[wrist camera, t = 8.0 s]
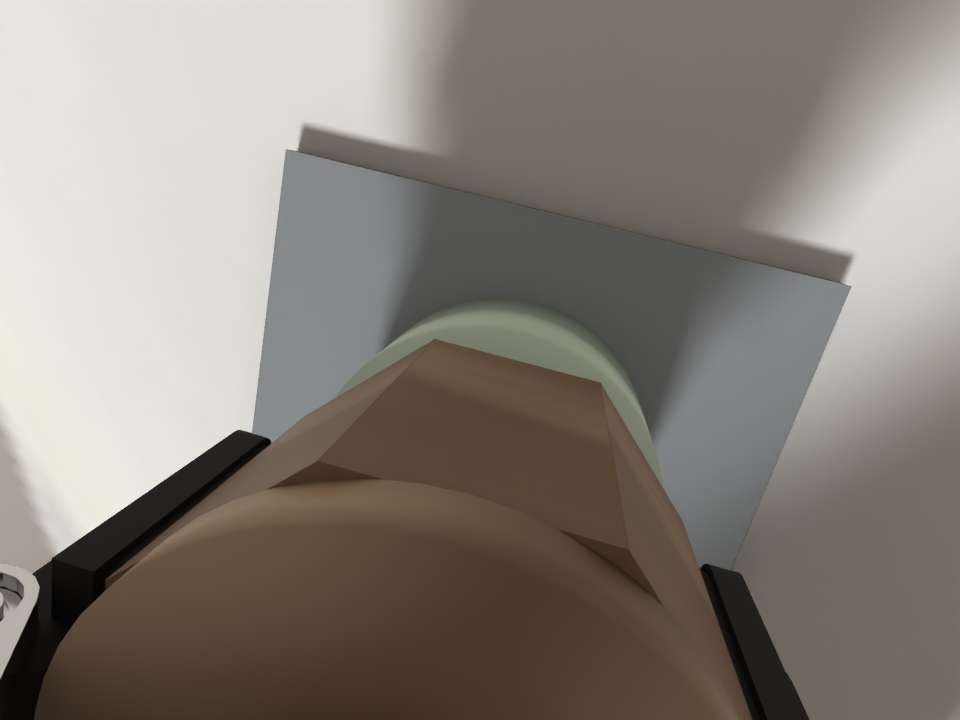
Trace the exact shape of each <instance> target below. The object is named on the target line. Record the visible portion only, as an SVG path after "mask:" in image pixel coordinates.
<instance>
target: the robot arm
mask: <svg viewBox="0 0 960 720" xmlns="http://www.w3.org/2000/svg"><path fill="white" fill-rule="evenodd" d="M270 444H271V440H270V439H269V438H266V437H263V436H259V435H256V434H252V433H249V432H245V431H242V430H237V431H235V432H234V433H232V434H231V435H229V436H228V437H226V438H225V439H223V440H222V441H221V442H219V443H218V444H216V445H215V446H213V447H212V448H210V449H209V450H208V451H206V452H205V453H203V454H202V455H200V456H199V457H197V458H196V459H195V460H193V461H192V462H190V463H189V464H187V465H186V466H184V467H183V468H182V469H180V470H179V471H177V472H176V473H174V474H173V475H171V476H170V477H169V478H167V479H166V480H164V481H163V482H161V483H160V484H158V485H157V486H156V487H154V488H153V489H151V490H150V491H148V492H147V493H145V494H144V495H143V496H141V497H140V498H138V499H137V500H135V501H134V502H132V503H131V504H130V505H128V506H127V507H125V508H124V509H122V510H121V511H120V512H118V513H117V514H115V515H114V516H112V517H111V518H109V519H108V520H107V521H105V522H104V523H102V524H101V525H99V526H98V527H96V528H95V529H94V530H92V531H91V532H89V533H88V534H86V535H85V536H83V537H82V538H81V539H79V540H78V541H76V542H75V543H73V544H72V545H70V546H69V547H68V548H66V549H65V550H63V551H62V552H60V553H59V554H57V555H56V556H55V557H53V558H52V560H51V561H50V562H49V563H47V564H46V565H44V566H43V567H41V568H40V569H39V570H37V571H36V572H34V573H33V574H31V573H29V572H28V571H26V570H25V569H22V568H19V567H15V566H12V565H6V564H0V720H34V718H35V709H36V706H37V702H38V698H39V694H40V690H41V686H42V682H43V678H44V676H45V674H46V672H47V669H48V667H49V665H50V663H51V661H52V659H53V656H54V654H55V652H56V650H57V648H58V646H59V644H60V643H61V641H62V640H63V638H64V637H65V636H66V634H67V633H68V631H69V630H70V629H71V627H72V626H73V624H74V623H75V622H76V620H77V619H78V617H79V616H80V615H81V614H82V613H83V612H84V611H85V610H86V609H87V608H88V607H89V606H90V605H91V604H92V603H93V602H94V601H95V600H96V599H97V598H98V597H99V596H100V595H101V594H102V593H104V592H105V585H106V581H105V580H106V579H107V578H108V577H110V576H111V575H112V574H113V573H114V572H116V571H117V570H118V569H119V568H120V567H122V566H123V565H124V564H125V563H127V562H128V561H129V560H130V559H131V558H133V557H134V556H135V555H136V554H138V553H139V552H140V551H141V550H142V549H144V548H145V547H146V546H147V545H148V544H150V543H151V542H152V541H153V540H155V539H156V538H157V537H158V536H159V535H161V534H162V533H163V532H164V531H166V530H167V529H168V528H169V527H170V526H172V525H173V524H174V523H175V522H176V521H178V520H179V519H180V518H181V517H183V516H184V515H185V514H186V513H187V512H189V511H190V510H191V509H192V508H193V507H195V506H196V505H197V504H198V503H200V502H201V501H202V500H203V499H204V498H206V497H207V496H208V495H209V494H211V493H212V492H213V491H214V490H215V489H217V488H218V487H219V486H220V485H221V484H223V483H224V482H225V481H226V480H228V479H229V478H230V477H231V476H232V475H234V474H235V473H236V472H237V471H239V470H240V469H241V468H242V467H243V466H245V465H246V464H247V463H248V462H249V461H251V460H252V459H253V458H254V457H256V456H257V455H258V454H259V453H260V452H262V451H263V450H264V449H265V448H267V447H268V446H269V445H270ZM700 572H701V575H702V577H703V580H704V583H705V586H706V589H707V592H708V594H709V597H710V600H711V603H712V606H713V609H714V612H715V614H716V617H717V620H718V623H719V626H720V629H721V632H722V634H723V637H724V640H725V643H726V646H727V649H728V651H729V654H730V657H731V660H732V663H733V666H734V669H735V671H736V674H737V677H738V680H739V683H740V686H741V688H742V691H743V694H744V697H745V700H746V703H747V706H748V708H749V711H750V714H751V717H752V720H809V718H808V716H807V714H806V712H805V709H804V707H803V705H802V703H801V701H800V698H799V696H798V694H797V692H796V689H795V687H794V685H793V683H792V681H791V679H790V678H789V676H788V674H787V673H786V672H785V670H784V668H783V666H782V663H781V661H780V659H779V657H778V654H777V652H776V650H775V648H774V645H773V643H772V641H771V639H770V637H769V634H768V632H767V630H766V628H765V625H764V623H763V621H762V619H761V616H760V614H759V612H758V610H757V608H756V605H755V603H754V601H753V599H752V596H751V594H750V592H749V590H748V587H747V585H746V583H745V581H744V579H743V577H742V575H741V574H740V573H738V572H734V571H731V570H727V569H724V568H721V567H717V566H714V565H710V564H707V563H706V564H703V565H702V567H701V568H700Z"/></svg>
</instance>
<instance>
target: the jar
mask: <svg viewBox="0 0 960 720" xmlns="http://www.w3.org/2000/svg"><path fill="white" fill-rule="evenodd" d="M434 339H437V340H441V341H445V342H449V343H453V344H456V345H460V346H464V347H468V348H472V349H475V350H479V351H483V352H487V353H490V354H494V355H498V356H502V357H506V358H509V359H513V360H517V361H521V362H525V363H528V364H532V365H536V366H540V367H544V368H547V369H551V370H555V371H559V372H563V373H566V374H570V375H574V376H578V377H582V378H585V379H589V380H593V381H597V382H601V384H602V386H603V387H604V389H605V391H606V392H607V394H608V396H609V398H610V399H611V401H612V403H613V404H614V406H615V408H616V409H617V411H618V413H619V414H620V416H621V418H622V420H623V421H624V423H625V425H626V426H627V428H628V430H629V431H630V433H631V435H632V436H633V438H634V440H635V441H636V443H637V445H638V447H639V448H640V450H641V452H642V453H643V455H644V457H645V458H646V460H647V462H648V463H649V465H650V467H651V469H652V470H653V472H654V474H655V475H656V477H657V479H658V480H659V482H660V484H661V485H662V487H663V489H664V486H663V480H662V475H661V469H660V463H659V460H658V457H657V454H656V451H655V448H654V445H653V442H652V439H651V436H650V433H649V430H648V427H647V424H646V421H645V418H644V415H643V412H642V409H641V406H640V403H639V400H638V397H637V394H636V391H635V388H634V385H633V383H632V381H631V379H630V377H629V375H628V373H627V371H626V370H625V368H624V367H623V365H622V364H621V362H620V361H619V359H618V358H617V356H616V355H615V354H614V353H613V351H612V350H611V349H610V348H609V347H608V346H607V345H606V344H605V343H604V341H603V340H601V339H600V338H599V337H598V336H597V335H596V334H594V333H593V332H592V331H591V330H590V329H589V328H587V327H586V326H584V325H583V324H581V323H580V322H578V321H577V320H575V319H573V318H572V317H570V316H568V315H566V314H564V313H562V312H560V311H557V310H555V309H553V308H550V307H547V306H544V305H541V304H538V303H535V302H529V301H524V300H519V299H509V298H486V299H475V300H471V301H466V302H461V303H457V304H454V305H451V306H449V307H446V308H443V309H440V310H438V311H437V312H435V313H433V314H431V315H429V316H427V317H425V318H423V319H422V320H421V321H419V322H418V323H416V324H415V325H414V326H412V327H411V328H409V329H408V330H407V331H406V332H404V333H403V334H402V335H401V336H399V337H398V338H397V339H396V340H394V341H393V342H392V343H391V344H390V345H388V346H387V347H386V348H385V349H383V350H382V351H381V352H380V353H378V354H377V355H376V356H375V357H373V358H372V359H371V360H370V361H368V362H367V363H366V364H365V365H364V366H363V367H362V368H361V369H359V370H358V371H357V372H356V373H355V374H354V375H353V376H352V377H351V378H350V379H349V380H348V381H347V383H346V384H345V385H344V387H343V388H342V389H341V390H340V392H339V393H338V394H337V395H336V397H338V396H339V395H341V394H343V393H345V392H346V391H348V390H350V389H351V388H353V387H355V386H356V385H358V384H360V383H361V382H363V381H365V380H366V379H368V378H370V377H371V376H373V375H375V374H376V373H378V372H380V371H382V370H383V369H385V368H387V367H388V366H390V365H392V364H393V363H395V362H397V361H398V360H400V359H402V358H403V357H405V356H407V355H408V354H410V353H412V352H414V351H415V350H417V349H419V348H420V347H422V346H424V345H425V344H427V343H429V342H430V341H432V340H434ZM336 397H335V398H336Z"/></svg>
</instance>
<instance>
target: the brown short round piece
mask: <svg viewBox="0 0 960 720" xmlns="http://www.w3.org/2000/svg"><path fill="white" fill-rule="evenodd" d="M105 581H106V585H105V592H104V593H102V594H101V595H100V596H99V597H98V598H97V599H96V600H95V601H94V602H93V603H92V604H91V605H90V606H89V607H88V608H87V609H86V610H85V611H84V612H83V613H82V614H81V615H80V616H79V617H78V619H77V620H76V622H75V623H74V624H73V626H72V627H71V629H70V630H69V631H68V633H67V634H66V636H65V637H64V638H63V640H62V641H61V643H60V644H59V646H58V648H57V650H56V652H55V654H54V656H53V659H52V661H51V663H50V665H49V667H48V669H47V672H46V674H45V676H44V678H43V682H42V686H41V690H40V694H39V698H38V702H37V706H36V709H35V718H34V720H752V717H751V714H750V711H749V708H748V706H747V703H746V700H745V697H744V694H743V691H742V688H741V686H740V683H739V680H738V677H737V674H736V671H735V669H734V666H733V663H732V660H731V657H730V654H729V651H728V649H727V646H726V643H725V640H724V637H723V634H722V632H721V629H720V626H719V623H718V620H717V617H716V614H715V612H714V609H713V606H712V603H711V600H710V597H709V594H708V592H707V589H706V586H705V583H704V580H703V577H702V575H701V572H700V569H699V566H698V563H697V560H696V557H695V555H694V552H693V549H692V546H691V543H690V540H689V538H688V535H687V532H686V529H685V526H684V523H683V520H682V519H681V518H680V516H679V514H678V512H677V511H676V509H675V507H674V506H673V504H672V502H671V501H670V499H669V497H668V496H667V494H666V492H665V490H664V489H663V487H662V485H661V484H660V482H659V480H658V479H657V477H656V475H655V474H654V472H653V470H652V469H651V467H650V465H649V463H648V462H647V460H646V458H645V457H644V455H643V453H642V452H641V450H640V448H639V447H638V445H637V443H636V441H635V440H634V438H633V436H632V435H631V433H630V431H629V430H628V428H627V426H626V425H625V423H624V421H623V420H622V418H621V416H620V414H619V413H618V411H617V409H616V408H615V406H614V404H613V403H612V401H611V399H610V398H609V396H608V394H607V392H606V391H605V389H604V387H603V386H602V384H601V382H597V381H593V380H589V379H585V378H582V377H578V376H574V375H570V374H566V373H563V372H559V371H555V370H551V369H547V368H544V367H540V366H536V365H532V364H528V363H525V362H521V361H517V360H513V359H509V358H506V357H502V356H498V355H494V354H490V353H487V352H483V351H479V350H475V349H472V348H468V347H464V346H460V345H456V344H453V343H449V342H445V341H441V340H437V339H434V340H432V341H430V342H429V343H427V344H425V345H424V346H422V347H420V348H419V349H417V350H415V351H414V352H412V353H410V354H408V355H407V356H405V357H403V358H402V359H400V360H398V361H397V362H395V363H393V364H392V365H390V366H388V367H387V368H385V369H383V370H382V371H380V372H378V373H376V374H375V375H373V376H371V377H370V378H368V379H366V380H365V381H363V382H361V383H360V384H358V385H356V386H355V387H353V388H351V389H350V390H348V391H346V392H345V393H343V394H341V395H339V396H338V397H336V398H334V399H333V400H331V401H329V402H328V403H326V404H324V405H323V406H321V407H319V408H318V409H316V410H314V411H313V412H311V413H309V414H308V415H305V416H304V417H303V418H302V419H301V420H299V421H298V422H297V423H296V424H295V425H293V426H292V427H291V428H290V429H288V430H287V431H286V432H285V433H284V434H282V435H281V436H280V437H279V438H277V439H276V440H275V441H274V442H273V443H271V444H270V445H269V446H268V447H267V448H265V449H264V450H263V451H262V452H260V453H259V454H258V455H257V456H256V457H254V458H253V459H252V460H251V461H249V462H248V463H247V464H246V465H245V466H243V467H242V468H241V469H240V470H239V471H237V472H236V473H235V474H234V475H232V476H231V477H230V478H229V479H228V480H226V481H225V482H224V483H223V484H221V485H220V486H219V487H218V488H217V489H215V490H214V491H213V492H212V493H211V494H209V495H208V496H207V497H206V498H204V499H203V500H202V501H201V502H200V503H198V504H197V505H196V506H195V507H193V508H192V509H191V510H190V511H189V512H187V513H186V514H185V515H184V516H183V517H181V518H180V519H179V520H178V521H176V522H175V523H174V524H173V525H172V526H170V527H169V528H168V529H167V530H166V531H164V532H163V533H162V534H161V535H159V536H158V537H157V538H156V539H155V540H153V541H152V542H151V543H150V544H148V545H147V546H146V547H145V548H144V549H142V550H141V551H140V552H139V553H138V554H136V555H135V556H134V557H133V558H131V559H130V560H129V561H128V562H127V563H125V564H124V565H123V566H122V567H120V568H119V569H118V570H117V571H116V572H114V573H113V574H112V575H111V576H110V577H108V578H107V579H106V580H105Z"/></svg>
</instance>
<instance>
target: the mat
mask: <svg viewBox="0 0 960 720" xmlns="http://www.w3.org/2000/svg"><path fill="white" fill-rule="evenodd" d="M850 289H851V286H849V285H845V284H842V283H839V282H835V281H831V280H826V279H822V278H818V277H814V276H810V275H806V274H802V273H798V272H793V271H789V270H785V269H781V268H777V267H773V266H769V265H764V264H760V263H756V262H752V261H748V260H744V259H740V258H736V257H731V256H727V255H723V254H719V253H715V252H711V251H707V250H703V249H698V248H694V247H690V246H686V245H682V244H678V243H674V242H669V241H665V240H661V239H657V238H653V237H649V236H645V235H641V234H636V233H632V232H628V231H624V230H620V229H616V228H612V227H608V226H603V225H599V224H595V223H591V222H587V221H583V220H579V219H574V218H570V217H566V216H562V215H558V214H554V213H550V212H546V211H541V210H537V209H533V208H529V207H525V206H521V205H517V204H513V203H508V202H504V201H500V200H496V199H492V198H488V197H484V196H480V195H475V194H471V193H467V192H463V191H459V190H455V189H451V188H446V187H442V186H438V185H434V184H430V183H426V182H422V181H418V180H413V179H409V178H405V177H401V176H397V175H393V174H389V173H385V172H380V171H376V170H372V169H368V168H364V167H360V166H356V165H351V164H347V163H343V162H339V161H335V160H331V159H327V158H323V157H318V156H314V155H310V154H306V153H302V152H298V151H292V150H286V154H285V162H284V171H283V179H282V187H281V196H280V204H279V213H278V221H277V229H276V238H275V246H274V254H273V263H272V271H271V279H270V288H269V296H268V304H267V313H266V321H265V329H264V338H263V346H262V354H261V363H260V371H259V379H258V388H257V396H256V404H255V413H254V421H253V430H252V434H256V435H259V436H263V437H266V438H269V439H270V440H271V443H273V442H274V441H275V440H276V439H277V438H279V437H280V436H281V435H282V434H284V433H285V432H286V431H287V430H288V429H290V428H291V427H292V426H293V425H295V424H296V423H297V422H298V421H299V420H301V419H302V418H303V417H304V416H305V415H308V414H309V413H311V412H313V411H314V410H316V409H318V408H319V407H321V406H323V405H324V404H326V403H328V402H329V401H331V400H333V399H334V398H335V397H336V395H337V394H338V393H339V392H340V390H341V389H342V388H343V387H344V385H345V384H346V383H347V381H348V380H349V379H350V378H351V377H352V376H353V375H354V374H355V373H356V372H357V371H358V370H359V369H361V368H362V367H363V366H364V365H365V364H366V363H367V362H368V361H370V360H371V359H372V358H373V357H375V356H376V355H377V354H378V353H380V352H381V351H382V350H383V349H385V348H386V347H387V346H388V345H390V344H391V343H392V342H393V341H394V340H396V339H397V338H398V337H399V336H401V335H402V334H403V333H404V332H406V331H407V330H408V329H409V328H411V327H412V326H414V325H415V324H416V323H418V322H419V321H421V320H422V319H423V318H425V317H427V316H429V315H431V314H433V313H435V312H437V311H438V310H440V309H443V308H446V307H449V306H451V305H454V304H457V303H461V302H466V301H471V300H475V299H486V298H509V299H519V300H524V301H529V302H535V303H538V304H541V305H544V306H547V307H550V308H553V309H555V310H557V311H560V312H562V313H564V314H566V315H568V316H570V317H572V318H573V319H575V320H577V321H578V322H580V323H581V324H583V325H584V326H586V327H587V328H589V329H590V330H591V331H592V332H593V333H594V334H596V335H597V336H598V337H599V338H600V339H601V340H603V341H604V343H605V344H606V345H607V346H608V347H609V348H610V349H611V350H612V351H613V353H614V354H615V355H616V356H617V358H618V359H619V361H620V362H621V364H622V365H623V367H624V368H625V370H626V371H627V373H628V375H629V377H630V379H631V381H632V383H633V385H634V388H635V391H636V394H637V397H638V400H639V403H640V406H641V409H642V412H643V415H644V418H645V421H646V424H647V427H648V430H649V433H650V436H651V439H652V442H653V445H654V448H655V451H656V454H657V457H658V460H659V463H660V469H661V475H662V480H663V486H664V490H665V492H666V494H667V496H668V497H669V499H670V501H671V502H672V504H673V506H674V507H675V509H676V511H677V512H678V514H679V516H680V518H681V519H682V520H683V523H684V526H685V529H686V532H687V535H688V538H689V540H690V543H691V546H692V549H693V552H694V555H695V557H696V560H697V563H698V566H699V569H700V568H701V567H702V565H703V564H706V563H707V564H710V565H714V566H717V567H721V568H724V569H727V570H731V569H732V566H733V564H734V562H735V559H736V557H737V555H738V552H739V550H740V548H741V545H742V543H743V541H744V538H745V536H746V533H747V531H748V529H749V526H750V524H751V522H752V519H753V517H754V515H755V512H756V510H757V508H758V505H759V503H760V500H761V498H762V496H763V493H764V491H765V489H766V486H767V484H768V482H769V479H770V477H771V475H772V472H773V470H774V468H775V465H776V463H777V460H778V458H779V456H780V453H781V451H782V449H783V446H784V444H785V442H786V439H787V437H788V435H789V432H790V430H791V427H792V425H793V423H794V420H795V418H796V416H797V413H798V411H799V409H800V406H801V404H802V402H803V399H804V397H805V395H806V392H807V390H808V387H809V385H810V383H811V380H812V378H813V376H814V373H815V371H816V369H817V366H818V364H819V362H820V359H821V357H822V354H823V352H824V350H825V347H826V345H827V343H828V340H829V338H830V336H831V333H832V331H833V329H834V326H835V324H836V322H837V319H838V317H839V314H840V312H841V310H842V307H843V305H844V303H845V300H846V298H847V296H848V293H849V291H850Z"/></svg>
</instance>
